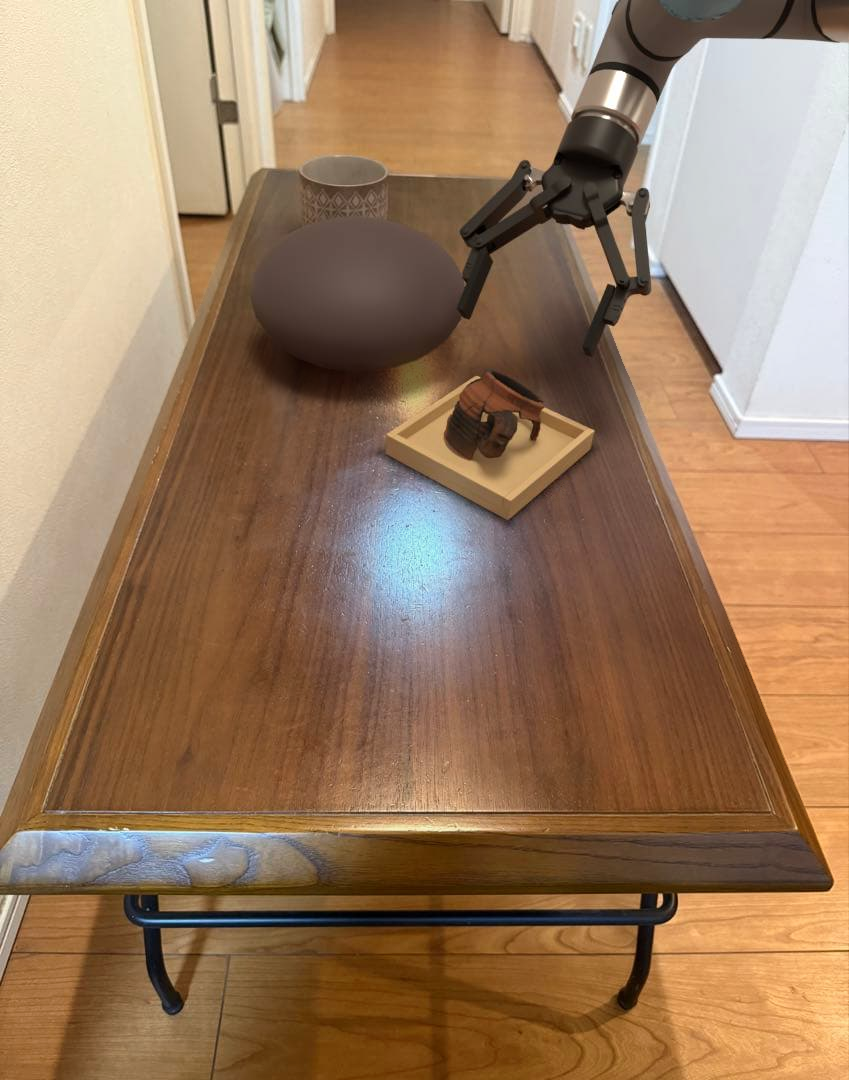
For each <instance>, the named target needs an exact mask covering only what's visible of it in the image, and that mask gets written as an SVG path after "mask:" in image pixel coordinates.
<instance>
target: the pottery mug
mask: <svg viewBox="0 0 849 1080" xmlns="http://www.w3.org/2000/svg"><path fill="white" fill-rule="evenodd" d="M459 398H460V400H459V401H457V404H456V405H455V408H454V410H453V414H450V416H449V417H448V419H447V425H446V430H445V432H444V437H445V438H446V440H447V442H448V443H449V445H450V446H452V447H453V448H454V450H456V451H457V452H458V453H460V454H461V455H463V456H464V457H466V458H468V459H472V458H473V455H474V452H475V451H476V449H477V446H478V449H479V451H480V453H481V454H482V455H483V456H484V457H486V458H497V457H500V456H501V455H502V453H503V452H504V451H505V448H506V446H507V445H508V443H509V441H510V440H511V439H512V438H513V436H514V434H515V433H516V431H517V425H518V418H517V416H516V415H515V414H513V412H514V413H519V418H520V419H527V420H528V421H531V422H532V424H533V428H532V431H531V434H530V439H531V440H533V441H536V438H537V437H538V436H539V431H540V425H541V418H540V412H541V411H542V409H544V407H545V408H546V406H545V405H544V404H543V402H544V401H543V400H542V398H540V396H538V395H537V394H536V393H534V391H533V390H531V389H530V388H528V387H527V386H525V385H523V384H522V383H520V382H519V381H518V380H516V379H514V378H512V377H510V376H508V375H506V374H504V373H502V372H500V371H497V370H495V369H493V368H492V369H491V368H486V369H484V371H483V373H482V375H481V377H480V378H479V379H476V380H474V381H472V382H471V383H469V384H468V385H467V386H466V388H464V389H463V391H462V392H461V394H460V396H459ZM483 412H485V413H486V414H489V415H488V416H487V421H485V422H481V418H482V413H483Z"/></svg>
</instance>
